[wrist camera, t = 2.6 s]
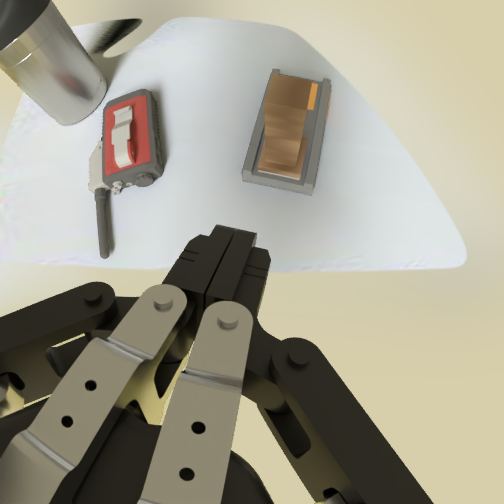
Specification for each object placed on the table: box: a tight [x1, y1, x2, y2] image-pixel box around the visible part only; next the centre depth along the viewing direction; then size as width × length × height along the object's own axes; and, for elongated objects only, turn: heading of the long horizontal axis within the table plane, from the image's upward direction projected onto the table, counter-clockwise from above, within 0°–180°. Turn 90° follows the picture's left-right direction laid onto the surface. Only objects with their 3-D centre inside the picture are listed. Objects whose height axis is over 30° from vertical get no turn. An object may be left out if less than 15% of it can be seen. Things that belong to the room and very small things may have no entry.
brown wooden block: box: [258, 74, 312, 179], centre depth 23 cm, size 4×4×10 cm
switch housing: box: [242, 69, 331, 196], centre depth 29 cm, size 7×14×3 cm, turn 166°
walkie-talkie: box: [88, 89, 163, 259], centre depth 29 cm, size 9×4×20 cm
